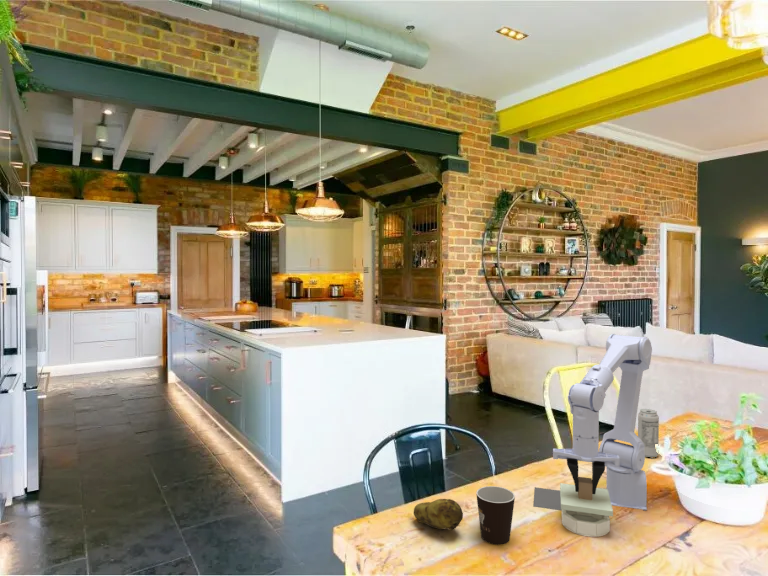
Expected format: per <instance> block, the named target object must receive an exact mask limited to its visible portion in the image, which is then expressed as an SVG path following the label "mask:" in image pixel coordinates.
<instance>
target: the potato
mask: <svg viewBox="0 0 768 576" xmlns="http://www.w3.org/2000/svg"><path fill="white" fill-rule="evenodd" d="M461 507H462V506H461V505H460V504H459V503H458V502H456V501H455V500H453V499H451V498H438V499H436V500H432V501H431V502H429V501H427V502H426V501H425V502H420V503H418V504H416V505H415V506H414V508H413V516H414V518H415V519H416V520H417V521H418V522H419V523H421V524H426V525H427V526H430V527H432V528H433V529H440V530H444V529H448V530H449V531H453V530H455V529H457V527H458V526H460V524H461V522H462V521H463V518H464V514H463V513H464V512H463V509H462V508H461Z"/></svg>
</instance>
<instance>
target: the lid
mask: <svg viewBox="0 0 768 576" xmlns="http://www.w3.org/2000/svg"><path fill="white" fill-rule="evenodd" d="M578 484H579V492H576V491H575V484H567V483H562V482H560V483H559V490H560V497H561V509H563V510H570V511H577V512H585V513H592V514H599V515H606V516H609V517H614V509H613V506H612V505H611V501H610V497H609V493H608V489H606V488H603V487H601V488H600V487H597V488H596V493H595V494H592V485H593V484H592V477H583V476H578Z"/></svg>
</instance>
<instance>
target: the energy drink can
mask: <svg viewBox="0 0 768 576" xmlns="http://www.w3.org/2000/svg"><path fill="white" fill-rule="evenodd" d="M657 412H658V411H657V410H655V409H650V408H641V409H639V413H637V436H638V437H639V438H640V439H641V440H642V441H643V443H644V446H645V447H644V454H645V457H651V458H650V459H653V458H652V457H656V458H657V456H659V452H658V453H657V452H656V449H655V444H658V445H659V438H660V437H659V436H660V435H659V428H660V427H659V426H660V425H659V423H660V419H659V417H660V416H659V415H658V413H657Z"/></svg>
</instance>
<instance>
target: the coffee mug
mask: <svg viewBox="0 0 768 576" xmlns="http://www.w3.org/2000/svg"><path fill="white" fill-rule="evenodd" d="M475 494H476V501H477V502H476V503H477V509H478V512H477V513H478V518H479V521H478V522H479V529H480V536H481V539H482V541H484V542H486V543H488V544H491V545H497V546H500V545H501V546H502V545H506V544H507V543H509V542H510V540H511V532H512V531H511V530H512V523H513V515H514V507H515V500H516V495H515V493H514V492H513V491H511V489H508V488H505V487H502V486H497V485H496V486H495V485H490V486H489V485H488V486H483V487H480V488H478V489H477V490H476V492H475Z"/></svg>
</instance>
